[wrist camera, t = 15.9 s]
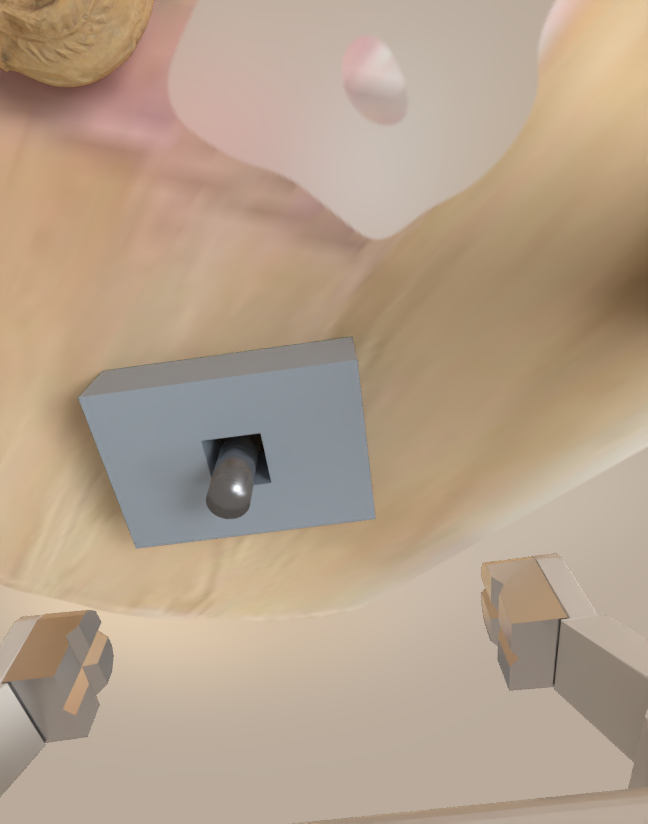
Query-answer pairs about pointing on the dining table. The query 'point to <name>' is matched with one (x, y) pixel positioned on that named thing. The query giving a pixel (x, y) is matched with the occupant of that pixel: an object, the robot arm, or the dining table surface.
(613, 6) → the dining table surface
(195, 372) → the hole block
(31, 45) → the oil lamp
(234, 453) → the peg
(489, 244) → the dining table surface
